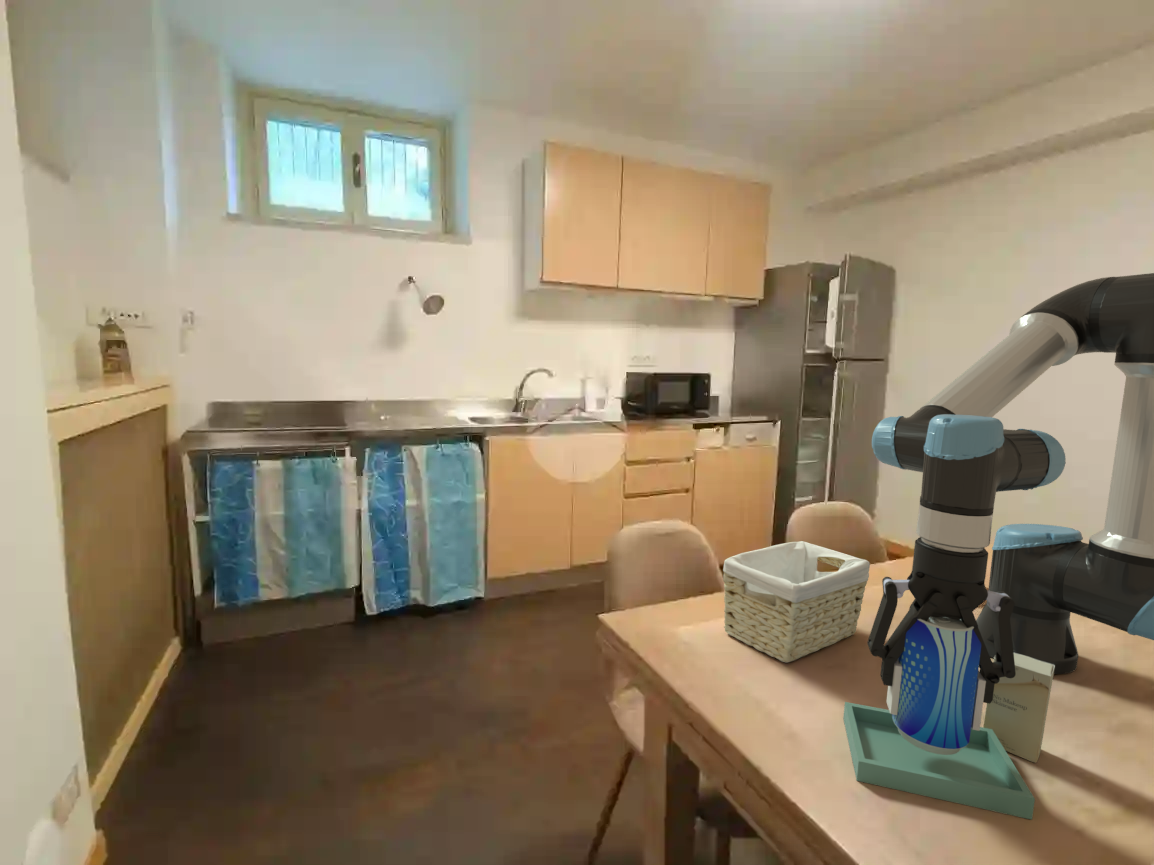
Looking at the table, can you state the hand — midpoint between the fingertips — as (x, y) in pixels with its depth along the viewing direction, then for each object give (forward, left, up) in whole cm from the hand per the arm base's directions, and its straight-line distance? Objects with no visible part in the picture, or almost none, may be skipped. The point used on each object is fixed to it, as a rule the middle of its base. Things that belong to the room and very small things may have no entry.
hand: (931, 715), depth 73 cm
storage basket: (+15, -32, -7) cm, 36 cm away
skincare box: (-12, -8, -7) cm, 16 cm away
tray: (0, 0, -7) cm, 7 cm away
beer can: (0, 0, -3) cm, 3 cm away
